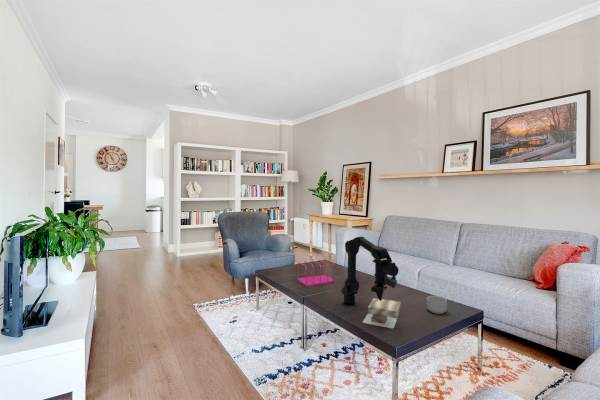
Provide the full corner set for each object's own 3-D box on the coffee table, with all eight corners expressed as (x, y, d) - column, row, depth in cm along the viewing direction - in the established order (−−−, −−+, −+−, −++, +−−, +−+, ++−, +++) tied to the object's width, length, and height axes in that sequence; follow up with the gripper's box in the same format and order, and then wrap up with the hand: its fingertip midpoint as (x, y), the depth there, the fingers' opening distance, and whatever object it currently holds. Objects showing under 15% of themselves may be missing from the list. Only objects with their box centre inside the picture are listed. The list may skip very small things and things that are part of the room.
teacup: (440, 317, 170) (440, 303, 170) (422, 311, 179) (422, 297, 178) (453, 311, 178) (453, 297, 178) (435, 305, 187) (435, 292, 187)
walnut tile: (373, 313, 170) (373, 317, 170) (371, 317, 164) (371, 321, 164) (386, 315, 166) (386, 319, 167) (384, 319, 161) (384, 323, 161)
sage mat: (362, 322, 163) (362, 322, 163) (367, 313, 175) (367, 313, 175) (393, 328, 156) (393, 328, 156) (397, 318, 168) (397, 318, 168)
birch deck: (367, 313, 175) (367, 306, 175) (373, 304, 189) (373, 298, 189) (397, 318, 168) (397, 311, 168) (400, 308, 182) (400, 301, 182)
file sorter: (335, 282, 234) (335, 262, 233) (305, 287, 224) (305, 265, 223) (324, 277, 250) (324, 257, 249) (296, 280, 240) (296, 260, 239)
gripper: (393, 278, 153) (393, 309, 154) (398, 269, 170) (398, 297, 171) (371, 275, 158) (371, 305, 158) (378, 267, 175) (378, 294, 175)
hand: (380, 300), depth 166 cm, fingers closed
